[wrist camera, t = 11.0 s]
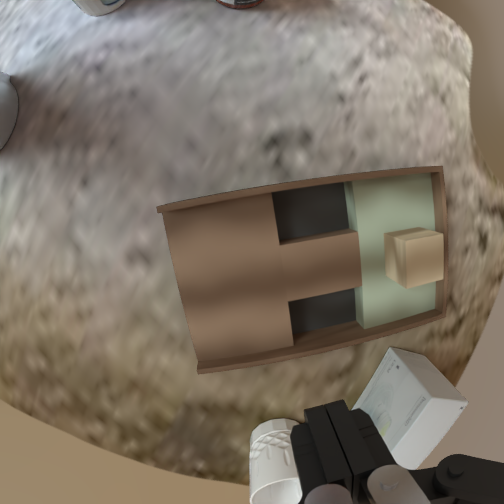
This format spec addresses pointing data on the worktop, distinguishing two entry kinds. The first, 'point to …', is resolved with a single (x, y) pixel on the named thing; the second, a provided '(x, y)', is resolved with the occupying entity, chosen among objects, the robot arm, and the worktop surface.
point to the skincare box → (410, 405)
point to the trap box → (302, 265)
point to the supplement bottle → (239, 3)
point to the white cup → (273, 464)
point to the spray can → (98, 6)
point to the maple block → (414, 256)
